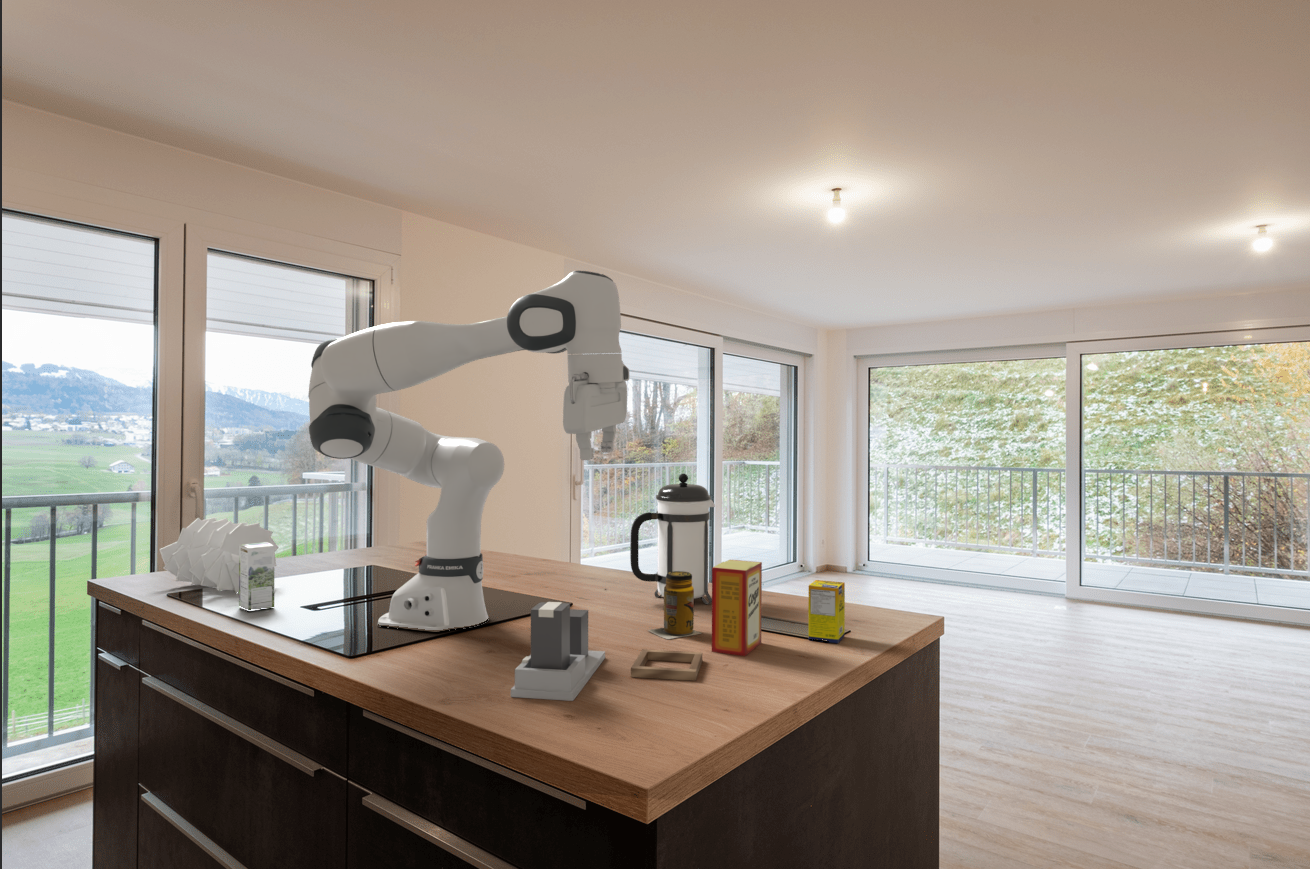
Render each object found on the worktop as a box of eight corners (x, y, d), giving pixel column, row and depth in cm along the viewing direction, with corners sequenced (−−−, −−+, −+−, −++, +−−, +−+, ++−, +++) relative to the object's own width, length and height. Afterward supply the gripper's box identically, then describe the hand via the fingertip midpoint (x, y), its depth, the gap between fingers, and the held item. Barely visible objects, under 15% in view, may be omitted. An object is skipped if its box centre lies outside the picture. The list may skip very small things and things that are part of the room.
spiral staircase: (210, 595, 211) (269, 602, 198) (145, 577, 197) (205, 583, 185) (236, 529, 218) (295, 531, 205) (175, 506, 204) (234, 507, 191)
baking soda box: (729, 638, 158) (729, 557, 158) (761, 642, 155) (761, 560, 155) (711, 651, 150) (712, 565, 149) (745, 656, 147) (745, 568, 146)
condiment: (702, 633, 162) (702, 574, 161) (667, 640, 157) (667, 579, 157) (681, 625, 168) (681, 568, 168) (647, 631, 163) (647, 572, 163)
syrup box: (265, 604, 185) (264, 541, 185) (275, 608, 181) (274, 544, 181) (238, 608, 181) (238, 544, 181) (248, 613, 177) (247, 547, 176)
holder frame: (630, 676, 135) (630, 668, 135) (642, 657, 146) (642, 649, 146) (695, 680, 133) (695, 671, 133) (702, 660, 144) (702, 652, 144)
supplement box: (844, 636, 160) (845, 581, 160) (838, 644, 155) (839, 587, 154) (815, 632, 163) (815, 579, 162) (807, 640, 157) (808, 584, 157)
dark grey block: (530, 685, 127) (530, 608, 127) (540, 674, 132) (540, 601, 132) (561, 687, 126) (561, 610, 126) (569, 676, 131) (569, 602, 131)
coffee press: (670, 590, 201) (671, 470, 201) (726, 598, 192) (727, 473, 191) (628, 603, 187) (628, 474, 186) (685, 613, 178) (686, 477, 177)
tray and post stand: (573, 700, 124) (573, 641, 123) (510, 696, 125) (510, 638, 125) (605, 657, 145) (605, 607, 145) (551, 655, 147) (551, 604, 147)
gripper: (590, 373, 121) (592, 465, 122) (632, 369, 140) (634, 448, 142) (551, 374, 123) (554, 464, 124) (598, 370, 142) (600, 448, 144)
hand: (597, 455), depth 133 cm, fingers open, 8 cm apart
